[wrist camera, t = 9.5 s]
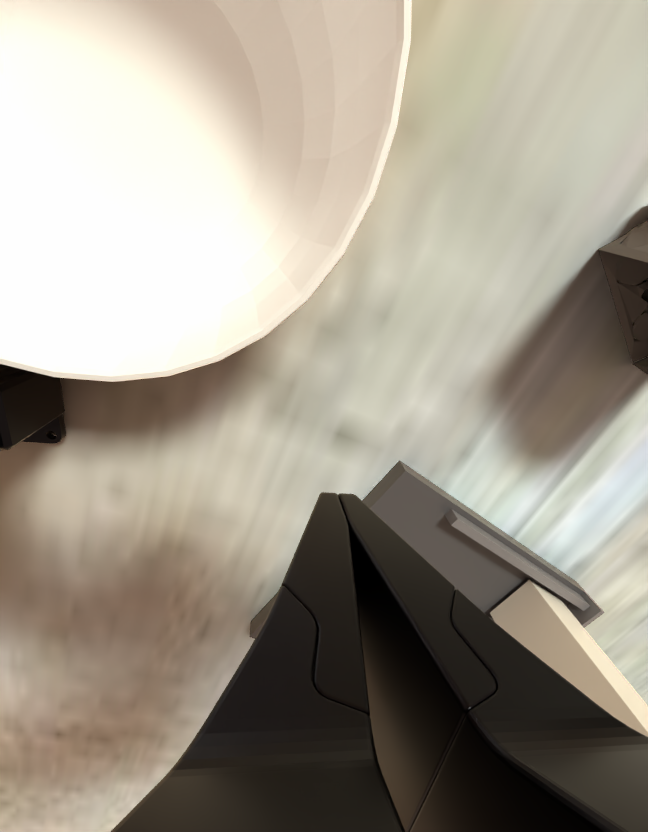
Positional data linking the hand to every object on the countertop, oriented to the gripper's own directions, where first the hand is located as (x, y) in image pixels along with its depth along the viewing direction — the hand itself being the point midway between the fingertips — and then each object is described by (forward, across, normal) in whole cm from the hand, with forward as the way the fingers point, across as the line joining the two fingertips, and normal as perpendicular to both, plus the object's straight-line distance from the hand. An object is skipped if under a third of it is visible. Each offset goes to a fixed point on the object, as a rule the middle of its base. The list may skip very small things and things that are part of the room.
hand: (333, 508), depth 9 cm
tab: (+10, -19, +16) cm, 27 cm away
